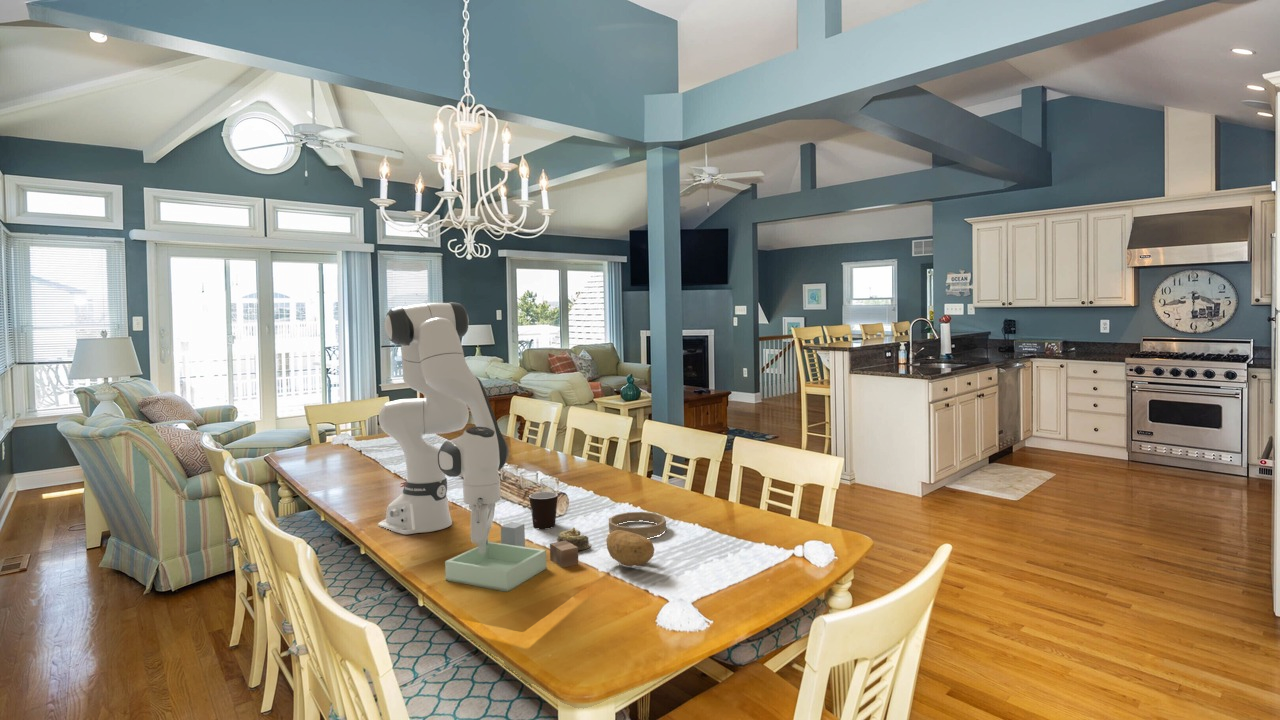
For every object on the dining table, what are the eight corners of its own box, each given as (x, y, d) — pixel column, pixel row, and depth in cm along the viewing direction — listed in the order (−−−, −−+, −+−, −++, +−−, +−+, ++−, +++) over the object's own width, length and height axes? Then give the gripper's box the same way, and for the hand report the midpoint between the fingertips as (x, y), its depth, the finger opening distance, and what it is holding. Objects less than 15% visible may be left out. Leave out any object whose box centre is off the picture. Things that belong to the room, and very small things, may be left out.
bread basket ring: (599, 536, 185) (598, 524, 185) (624, 520, 200) (624, 509, 200) (651, 543, 178) (651, 530, 178) (673, 526, 193) (673, 515, 193)
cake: (565, 555, 169) (564, 535, 169) (548, 546, 178) (548, 526, 177) (597, 548, 175) (597, 529, 175) (580, 539, 183) (580, 520, 183)
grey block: (501, 552, 172) (500, 526, 172) (511, 547, 177) (510, 522, 176) (515, 554, 171) (514, 528, 170) (524, 549, 175) (524, 523, 174)
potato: (638, 577, 153) (637, 543, 153) (597, 563, 162) (597, 532, 162) (664, 565, 160) (664, 534, 160) (624, 553, 170) (624, 523, 169)
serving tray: (445, 580, 153) (445, 561, 153) (488, 558, 167) (488, 541, 167) (507, 591, 145) (506, 571, 145) (546, 568, 160) (546, 550, 159)
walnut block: (549, 543, 165) (561, 550, 160) (565, 540, 168) (577, 547, 162) (550, 560, 166) (562, 568, 160) (565, 557, 168) (578, 564, 162)
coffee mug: (553, 533, 189) (552, 499, 188) (525, 531, 190) (524, 498, 190) (565, 521, 200) (564, 490, 200) (539, 520, 202) (538, 489, 201)
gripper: (491, 503, 147) (492, 563, 148) (498, 483, 168) (499, 536, 168) (463, 505, 146) (464, 565, 147) (473, 485, 167) (474, 537, 167)
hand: (483, 549), depth 158 cm, fingers open, 3 cm apart
